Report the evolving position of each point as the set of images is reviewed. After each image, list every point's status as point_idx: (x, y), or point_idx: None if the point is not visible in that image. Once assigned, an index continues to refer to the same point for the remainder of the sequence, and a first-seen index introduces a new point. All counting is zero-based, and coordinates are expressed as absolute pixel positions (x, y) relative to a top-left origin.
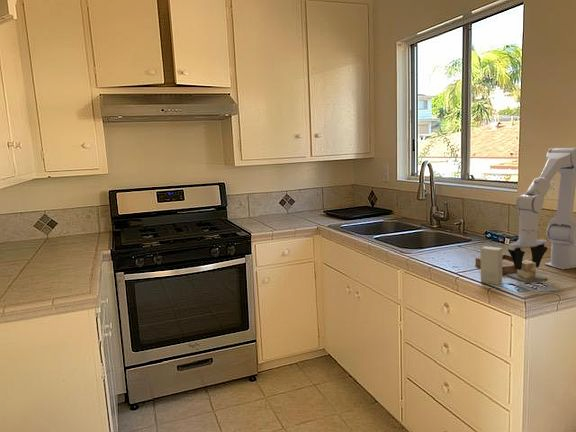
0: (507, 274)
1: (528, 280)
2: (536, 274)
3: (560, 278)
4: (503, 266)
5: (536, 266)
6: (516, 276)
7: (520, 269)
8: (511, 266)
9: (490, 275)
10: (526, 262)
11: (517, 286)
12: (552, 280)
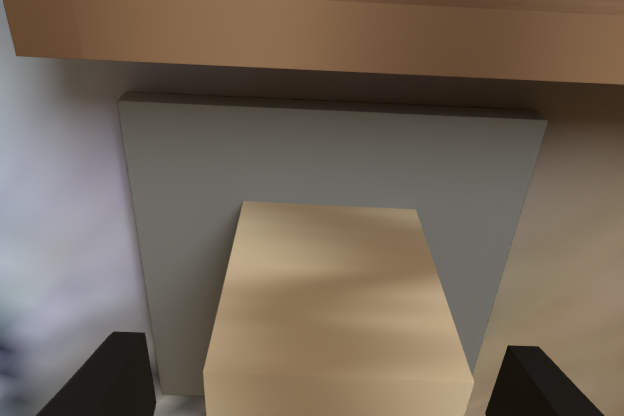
0: (132, 114)
1: None
2: (497, 283)
3: (610, 404)
4: (67, 38)
5: (492, 410)
6: (193, 237)
7: (146, 407)
8: (288, 61)
9: None
10: None
11: (17, 403)
12: (479, 412)
